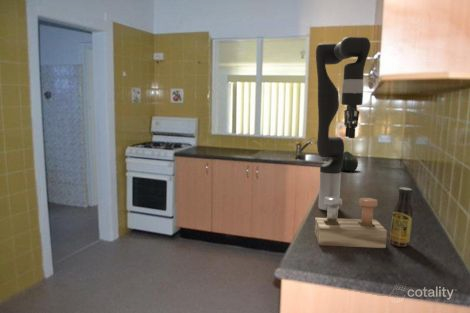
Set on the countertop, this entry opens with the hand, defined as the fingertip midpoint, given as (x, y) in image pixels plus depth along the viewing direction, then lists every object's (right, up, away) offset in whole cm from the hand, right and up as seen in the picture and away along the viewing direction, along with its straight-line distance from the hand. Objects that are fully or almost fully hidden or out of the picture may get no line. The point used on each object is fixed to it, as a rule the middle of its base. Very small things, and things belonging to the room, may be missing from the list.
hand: (349, 137), depth 141 cm
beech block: (-4, -37, -10) cm, 38 cm away
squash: (+39, -18, +133) cm, 140 cm away
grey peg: (-10, -30, -10) cm, 33 cm away
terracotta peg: (+2, -30, -11) cm, 32 cm away
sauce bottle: (+13, -38, -13) cm, 42 cm away
